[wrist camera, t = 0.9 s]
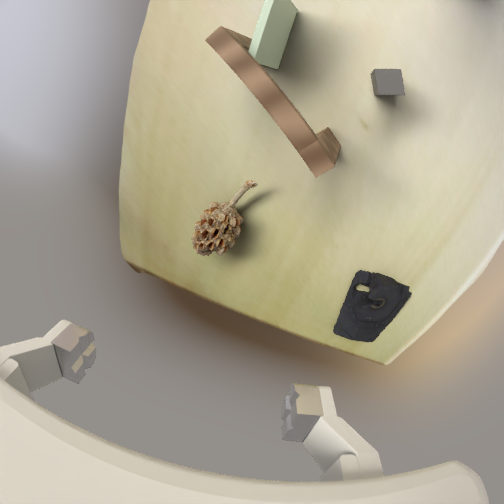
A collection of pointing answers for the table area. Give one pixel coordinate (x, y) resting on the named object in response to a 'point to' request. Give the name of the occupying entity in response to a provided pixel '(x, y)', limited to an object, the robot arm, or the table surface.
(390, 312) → the dark slate chunk
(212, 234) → the dried seed pod
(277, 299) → the table surface
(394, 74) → the gray rectangular block
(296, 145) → the door frame
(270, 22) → the door
